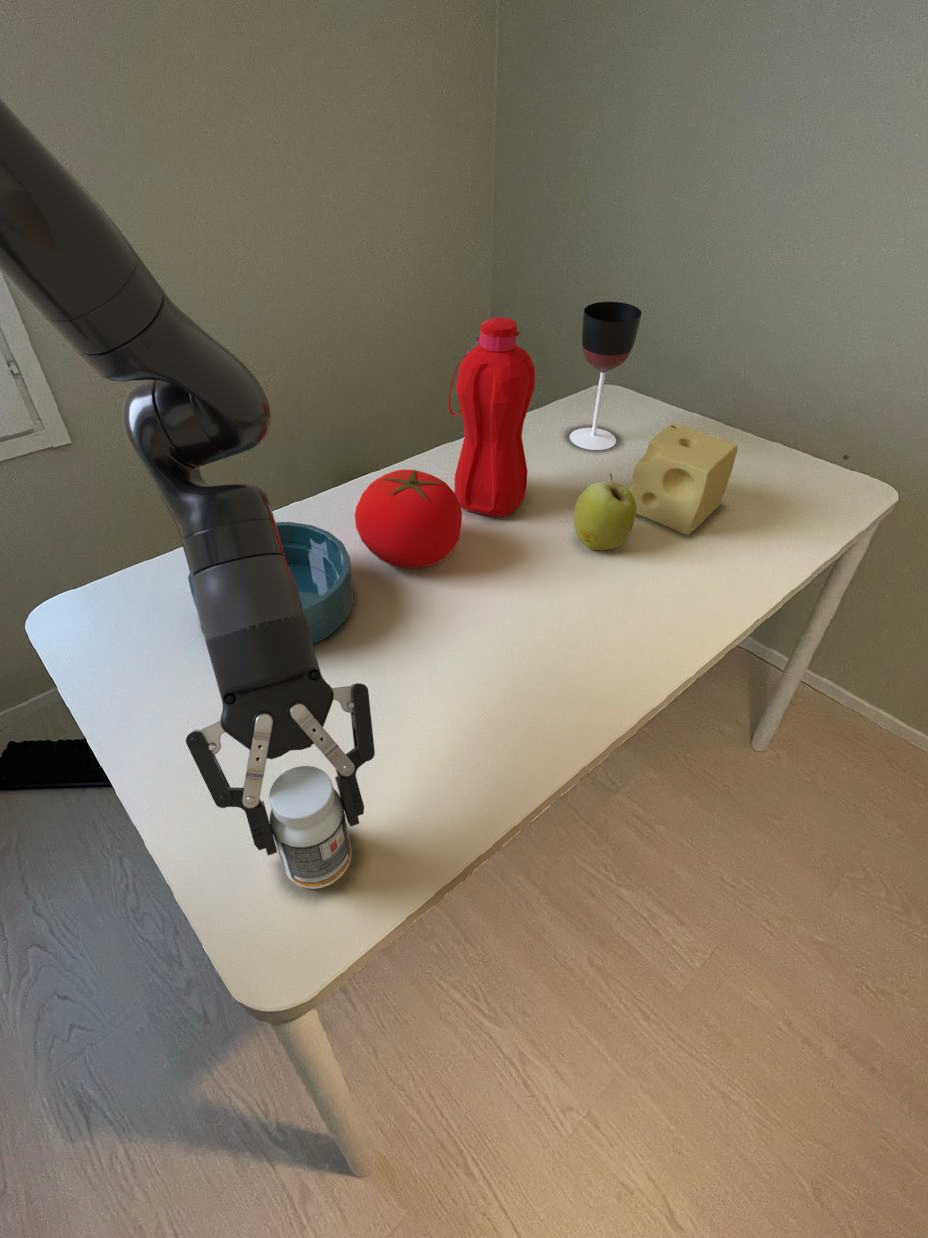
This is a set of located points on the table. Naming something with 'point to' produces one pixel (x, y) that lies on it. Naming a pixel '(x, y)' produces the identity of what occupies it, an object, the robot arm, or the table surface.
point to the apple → (604, 515)
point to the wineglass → (605, 357)
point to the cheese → (682, 477)
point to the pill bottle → (309, 827)
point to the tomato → (409, 518)
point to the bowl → (316, 576)
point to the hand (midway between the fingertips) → (313, 836)
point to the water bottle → (493, 420)
